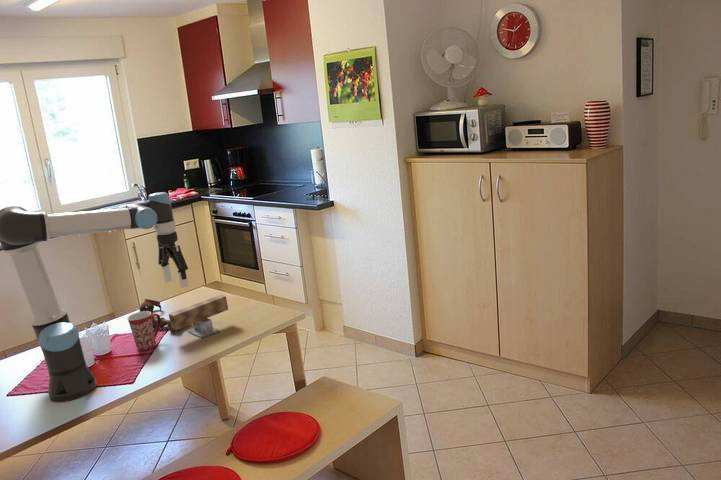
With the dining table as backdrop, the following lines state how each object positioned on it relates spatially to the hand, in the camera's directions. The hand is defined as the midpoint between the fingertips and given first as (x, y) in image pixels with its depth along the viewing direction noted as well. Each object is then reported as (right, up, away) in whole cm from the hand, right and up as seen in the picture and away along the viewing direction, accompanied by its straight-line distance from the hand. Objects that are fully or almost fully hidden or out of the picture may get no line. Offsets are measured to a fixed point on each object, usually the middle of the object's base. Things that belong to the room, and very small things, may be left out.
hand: (176, 284), depth 234 cm
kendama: (-7, -20, +19) cm, 29 cm away
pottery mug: (-24, -17, +40) cm, 50 cm away
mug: (-11, -25, +3) cm, 27 cm away
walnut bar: (+7, -15, +8) cm, 18 cm away
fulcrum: (+8, -20, +10) cm, 24 cm away
